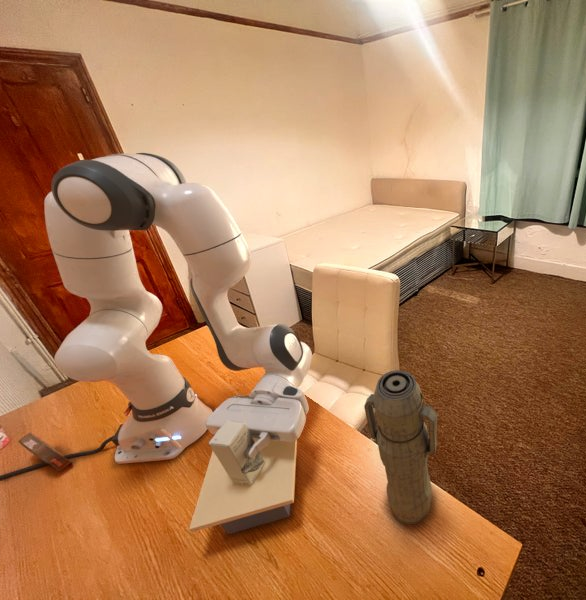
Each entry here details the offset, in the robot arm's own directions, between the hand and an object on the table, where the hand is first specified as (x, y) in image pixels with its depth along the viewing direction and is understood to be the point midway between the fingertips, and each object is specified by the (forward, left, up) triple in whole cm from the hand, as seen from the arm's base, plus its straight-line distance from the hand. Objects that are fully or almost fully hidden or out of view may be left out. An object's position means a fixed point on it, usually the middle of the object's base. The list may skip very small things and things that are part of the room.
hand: (234, 455), depth 58 cm
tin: (-54, +25, -17) cm, 62 cm away
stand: (0, +1, -16) cm, 16 cm away
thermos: (+31, -9, -17) cm, 36 cm away
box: (0, +1, -7) cm, 7 cm away
